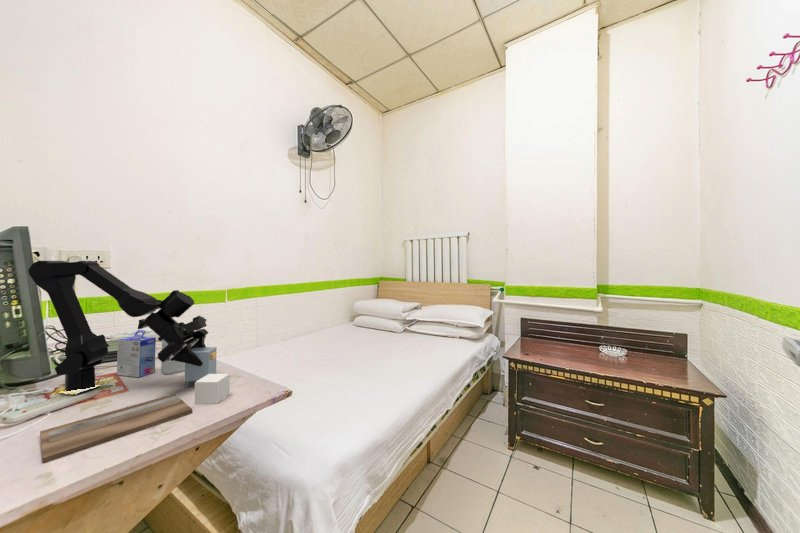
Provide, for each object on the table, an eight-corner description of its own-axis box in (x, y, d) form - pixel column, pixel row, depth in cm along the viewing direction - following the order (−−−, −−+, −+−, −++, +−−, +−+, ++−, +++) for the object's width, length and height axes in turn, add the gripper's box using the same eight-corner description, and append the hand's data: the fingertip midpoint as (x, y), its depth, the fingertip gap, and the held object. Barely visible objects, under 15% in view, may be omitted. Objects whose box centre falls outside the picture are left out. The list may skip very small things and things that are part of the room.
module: (184, 387, 89) (185, 352, 89) (194, 380, 94) (194, 347, 94) (210, 385, 90) (210, 351, 90) (218, 378, 95) (218, 346, 95)
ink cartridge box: (156, 371, 101) (156, 330, 101) (139, 378, 96) (139, 334, 96) (134, 369, 103) (134, 328, 103) (116, 375, 98) (116, 332, 98)
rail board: (40, 435, 63) (40, 424, 63) (174, 397, 82) (174, 388, 82) (42, 463, 55) (42, 450, 55) (192, 412, 74) (192, 403, 74)
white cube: (217, 404, 79) (217, 382, 79) (194, 404, 79) (194, 382, 79) (229, 394, 85) (229, 373, 85) (208, 394, 85) (208, 373, 85)
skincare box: (164, 375, 98) (165, 331, 98) (160, 371, 102) (160, 328, 102) (194, 368, 105) (194, 327, 104) (189, 364, 108) (189, 325, 108)
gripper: (170, 314, 82) (212, 352, 84) (202, 305, 100) (236, 336, 102) (137, 343, 80) (182, 380, 83) (176, 328, 99) (211, 359, 101)
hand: (206, 361), depth 92 cm, fingers closed on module, 5 cm apart
